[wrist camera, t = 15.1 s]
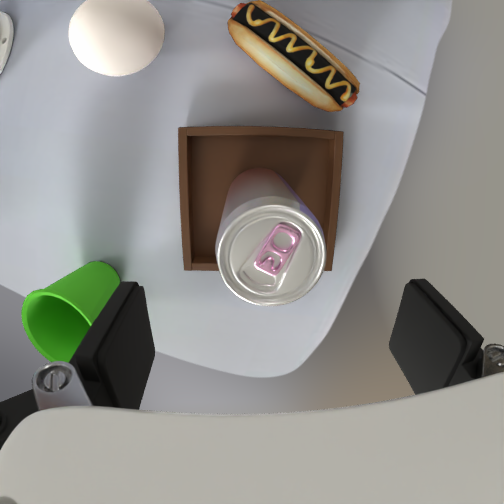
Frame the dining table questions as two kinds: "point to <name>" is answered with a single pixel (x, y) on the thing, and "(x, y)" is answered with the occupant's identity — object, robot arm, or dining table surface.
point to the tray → (248, 157)
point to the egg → (116, 35)
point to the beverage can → (268, 240)
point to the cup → (67, 309)
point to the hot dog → (292, 56)
